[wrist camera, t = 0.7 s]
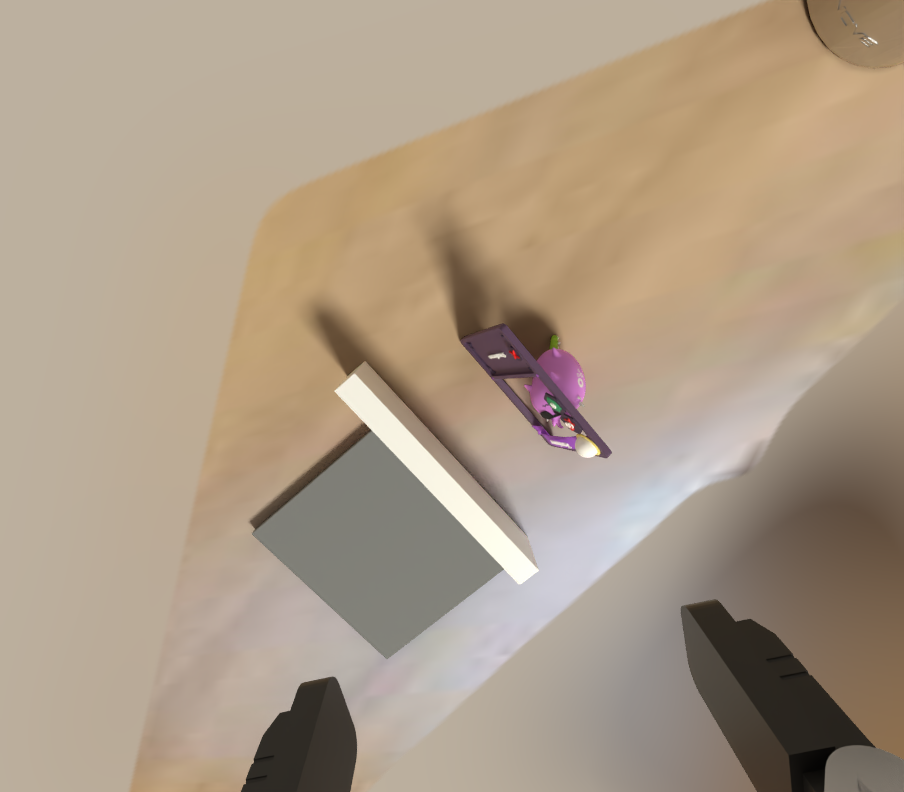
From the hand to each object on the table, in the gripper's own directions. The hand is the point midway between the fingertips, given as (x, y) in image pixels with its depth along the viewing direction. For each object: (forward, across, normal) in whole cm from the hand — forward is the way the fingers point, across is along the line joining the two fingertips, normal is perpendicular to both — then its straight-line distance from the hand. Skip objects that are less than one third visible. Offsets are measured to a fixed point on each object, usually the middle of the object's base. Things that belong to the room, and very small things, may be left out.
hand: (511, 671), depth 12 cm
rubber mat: (+21, +8, +8) cm, 24 cm away
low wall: (+21, +3, +3) cm, 22 cm away
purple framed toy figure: (+22, -4, -2) cm, 22 cm away
